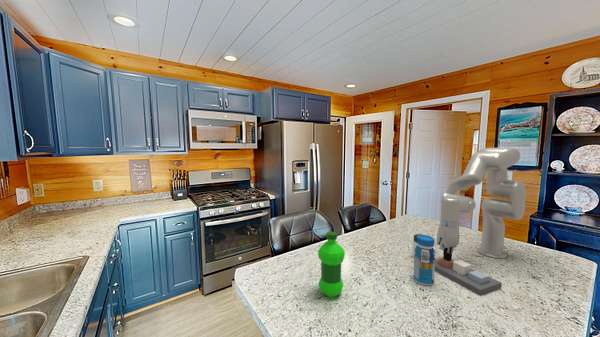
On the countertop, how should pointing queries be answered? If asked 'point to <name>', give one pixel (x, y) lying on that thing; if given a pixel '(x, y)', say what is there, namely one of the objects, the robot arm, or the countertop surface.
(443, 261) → the brick key
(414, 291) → the countertop surface
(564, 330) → the countertop surface
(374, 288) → the countertop surface
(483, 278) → the slate key
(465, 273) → the ivory key
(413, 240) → the jar
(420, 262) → the beverage bottle
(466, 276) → the slotted grey plate
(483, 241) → the robot arm
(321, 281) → the plastic bottle
